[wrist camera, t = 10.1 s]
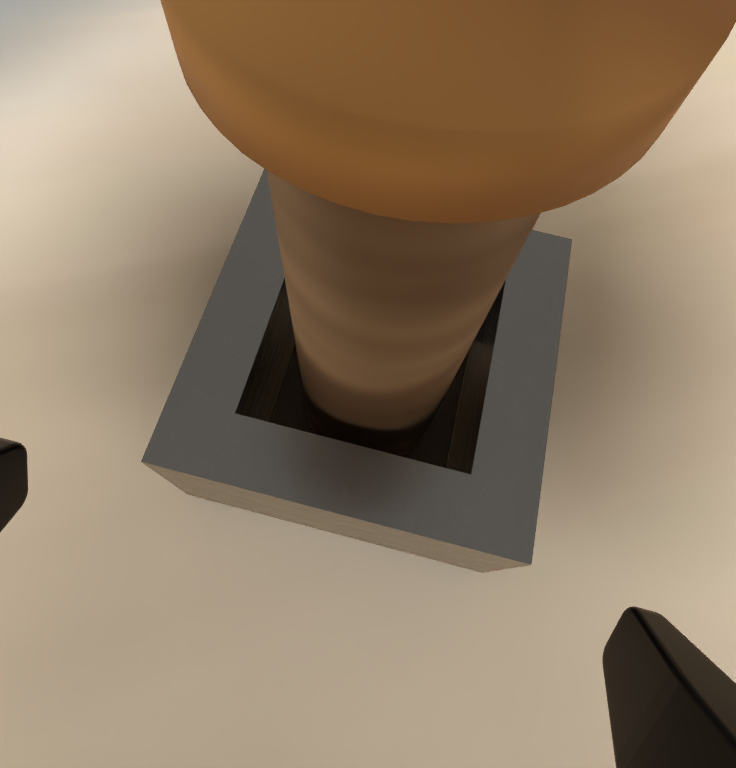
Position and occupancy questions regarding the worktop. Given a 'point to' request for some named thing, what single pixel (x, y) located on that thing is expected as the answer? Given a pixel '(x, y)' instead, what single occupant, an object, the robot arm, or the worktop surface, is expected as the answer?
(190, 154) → the worktop surface
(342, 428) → the pin
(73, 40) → the worktop surface
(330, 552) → the worktop surface
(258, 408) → the block
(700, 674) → the robot arm
